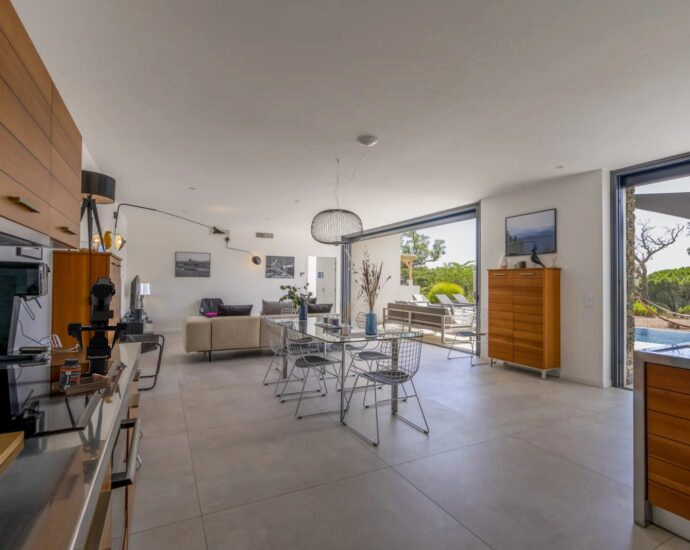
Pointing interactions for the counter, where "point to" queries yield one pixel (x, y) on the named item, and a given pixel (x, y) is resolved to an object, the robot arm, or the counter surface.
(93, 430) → the counter surface
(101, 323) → the robot arm
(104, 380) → the comb channel
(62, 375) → the supplement bottle
